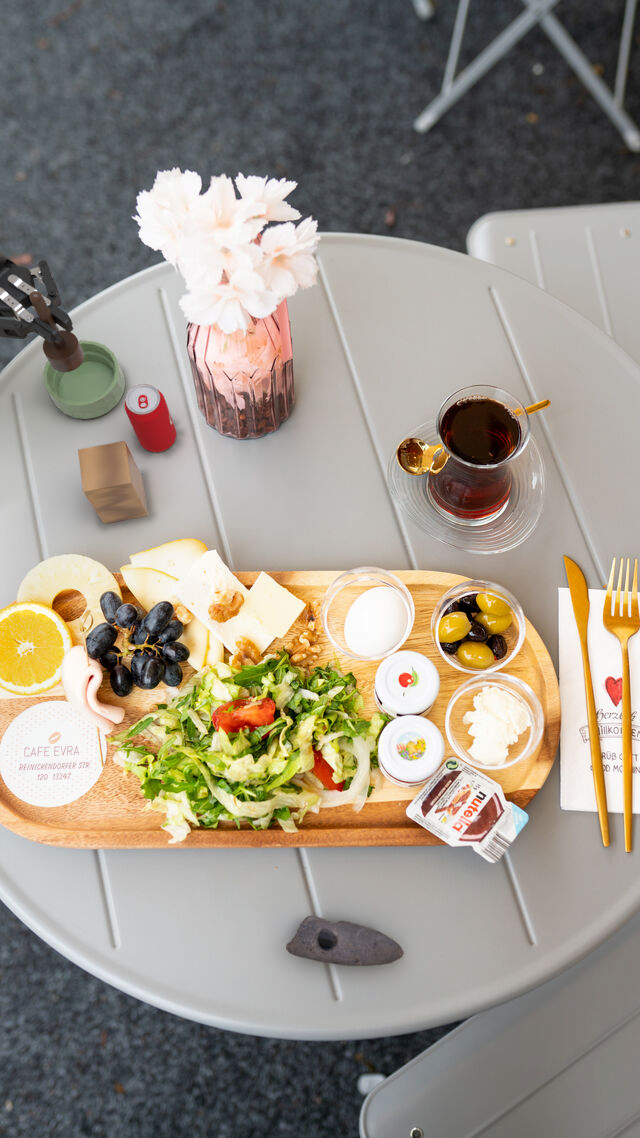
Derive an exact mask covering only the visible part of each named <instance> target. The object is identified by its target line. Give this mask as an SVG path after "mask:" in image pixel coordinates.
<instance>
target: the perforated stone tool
mask: <svg viewBox="0 0 640 1138" xmlns="http://www.w3.org/2000/svg"><path fill="white" fill-rule="evenodd" d="M285 945H286V946H285V949H286V950H287V952H288V953H289V954H290V955H293V956H296V957H299V958H303V959H307V960H312V961H315V962H321V963H325V964H332V965H339V966H347V967H350V966H351V967H372V966H383V965H388V964H392V963H395V962H396V961H398V960H400V959H402V958H403V957H404V954H405V953H404V950H403V947H402V946H401V945H400V944H399V943H398V942H397V941H395V940H394V939H393V938H392V937H390V936H388V935H387V934H385V933H382V932H381V931H379V930H376V929H374V928H371V927H368V926H365V925H362V924H358V923H354V922H352V921H351V922H350V921H346V920H339V921H337V922H336V923H333V922H330V921H329V920H327V919H324V918H323V917H320V916H317V915H308V916H306V917H305V918H304V919H303V920H302V922H301V923H299V926H298V927H297V930H296V932H295V935H294V936H293V938H292V939H291V940H290V941H289V942H287V943H286V944H285Z"/></svg>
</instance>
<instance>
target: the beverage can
mask: <svg viewBox="0 0 640 1138" xmlns="http://www.w3.org/2000/svg"><path fill="white" fill-rule="evenodd" d="M124 411H125V413H126V415H127V418H128V420H129V422H130V424H131V427H132V429H133V431H134V433H135V435H136V438H137V440H138V443H139V444H140V446H141V447H142V448H143V449H144V450H146V451H148V452H151V453H162V452H165V451H167V450H168V449H170V448H171V447H172V446H173V445H174V443H175V442H176V439H177V429H176V426H175V424H174V421H173V418H172V416H171V413H170V410H169V406H168V404H167V401H166V398H165V396H164V394H163V393H162V392H161V390H159V389H157V388H156V387H155V386H153V385H152V384H149V383H139V384H136V385H134V386H132V387H131V388H130V389H129V390H128V391H127V393H126V395H125V399H124Z"/></svg>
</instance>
